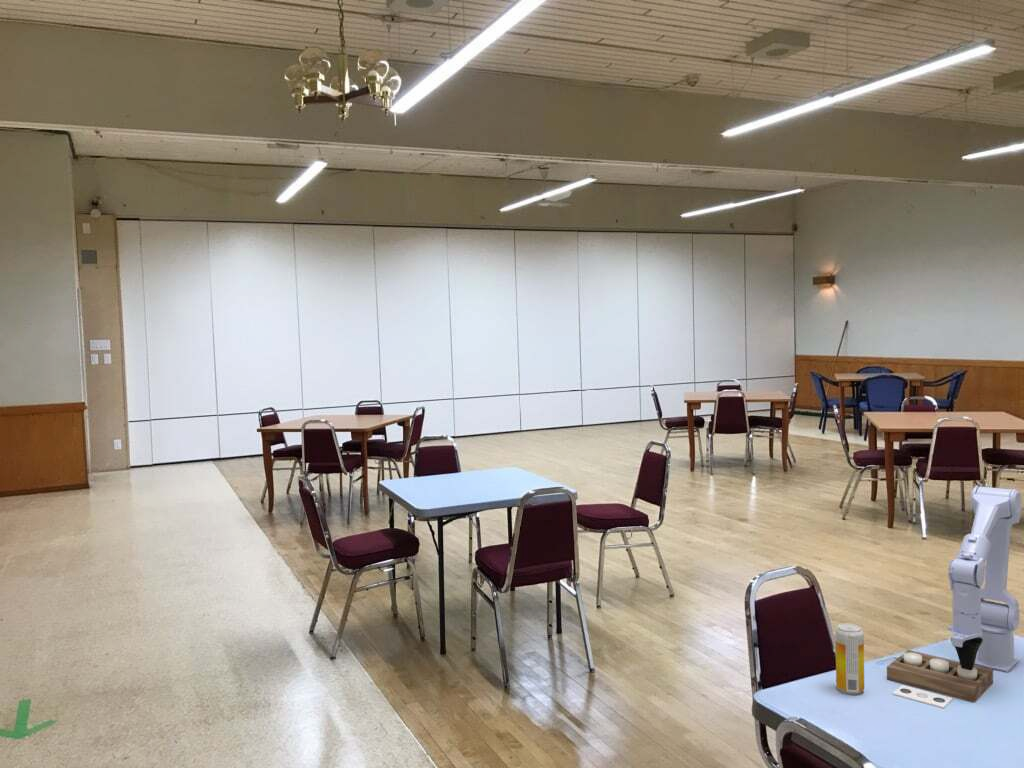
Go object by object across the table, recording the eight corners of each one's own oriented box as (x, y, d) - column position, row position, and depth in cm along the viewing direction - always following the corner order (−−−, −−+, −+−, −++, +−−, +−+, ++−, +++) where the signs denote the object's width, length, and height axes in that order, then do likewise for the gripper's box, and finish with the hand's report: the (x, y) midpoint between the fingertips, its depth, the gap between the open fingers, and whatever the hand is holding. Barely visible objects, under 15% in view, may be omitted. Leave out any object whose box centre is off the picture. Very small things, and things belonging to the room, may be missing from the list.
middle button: (933, 667, 195) (933, 657, 195) (951, 671, 192) (951, 661, 192) (927, 672, 192) (927, 662, 192) (945, 677, 189) (945, 666, 189)
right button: (960, 674, 190) (960, 663, 190) (979, 678, 188) (979, 668, 187) (955, 679, 188) (954, 668, 188) (974, 684, 185) (974, 673, 185)
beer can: (859, 684, 191) (858, 622, 191) (868, 695, 185) (867, 631, 185) (833, 684, 192) (832, 622, 191) (840, 695, 186) (839, 631, 185)
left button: (907, 661, 199) (907, 651, 199) (924, 665, 196) (924, 655, 196) (901, 665, 196) (901, 655, 196) (918, 670, 193) (918, 660, 193)
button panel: (908, 662, 204) (908, 649, 204) (993, 682, 190) (993, 669, 190) (887, 679, 194) (886, 666, 194) (974, 702, 180) (974, 688, 180)
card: (902, 686, 190) (902, 684, 190) (952, 699, 182) (952, 697, 182) (892, 694, 186) (892, 692, 186) (943, 708, 178) (943, 706, 178)
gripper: (958, 599, 195) (958, 655, 195) (937, 615, 185) (937, 673, 185) (990, 606, 190) (991, 662, 190) (971, 622, 180) (971, 681, 180)
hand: (967, 668), depth 188 cm, fingers closed, pressing on right button
